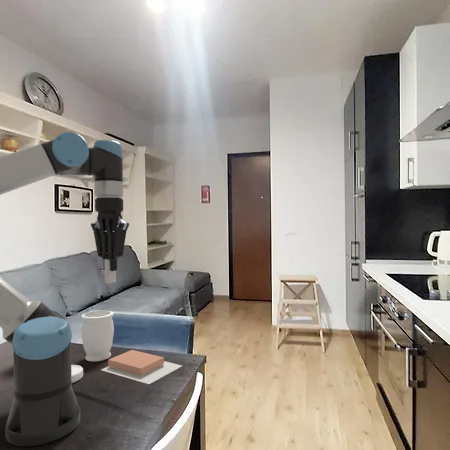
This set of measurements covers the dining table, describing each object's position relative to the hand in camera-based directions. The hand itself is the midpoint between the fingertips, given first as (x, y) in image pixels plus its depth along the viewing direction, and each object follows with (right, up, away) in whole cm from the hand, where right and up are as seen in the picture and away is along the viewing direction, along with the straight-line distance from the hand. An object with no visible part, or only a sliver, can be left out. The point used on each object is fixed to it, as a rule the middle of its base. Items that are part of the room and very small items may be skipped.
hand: (110, 282), depth 101 cm
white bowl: (-15, -30, +5) cm, 34 cm away
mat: (+6, -29, +12) cm, 32 cm away
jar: (-12, -30, +24) cm, 40 cm away
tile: (+10, -27, +9) cm, 30 cm away
